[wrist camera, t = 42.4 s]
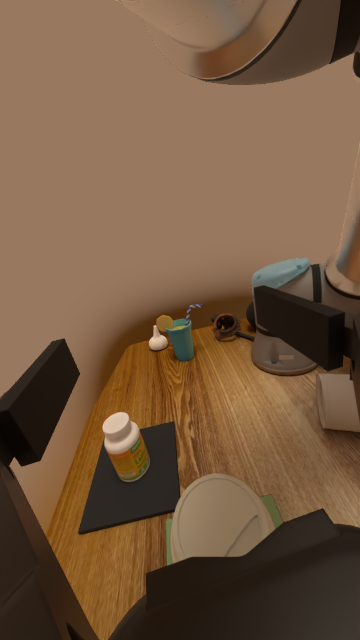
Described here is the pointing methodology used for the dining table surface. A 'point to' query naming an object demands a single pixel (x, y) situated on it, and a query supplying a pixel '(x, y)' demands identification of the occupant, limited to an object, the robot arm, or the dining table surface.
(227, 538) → the coffee cup
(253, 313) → the speaker
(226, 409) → the dining table surface
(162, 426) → the charcoal mat
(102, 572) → the dining table surface
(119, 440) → the supplement bottle
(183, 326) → the cup
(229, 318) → the broken clay pot
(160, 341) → the garlic bulb
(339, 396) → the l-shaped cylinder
